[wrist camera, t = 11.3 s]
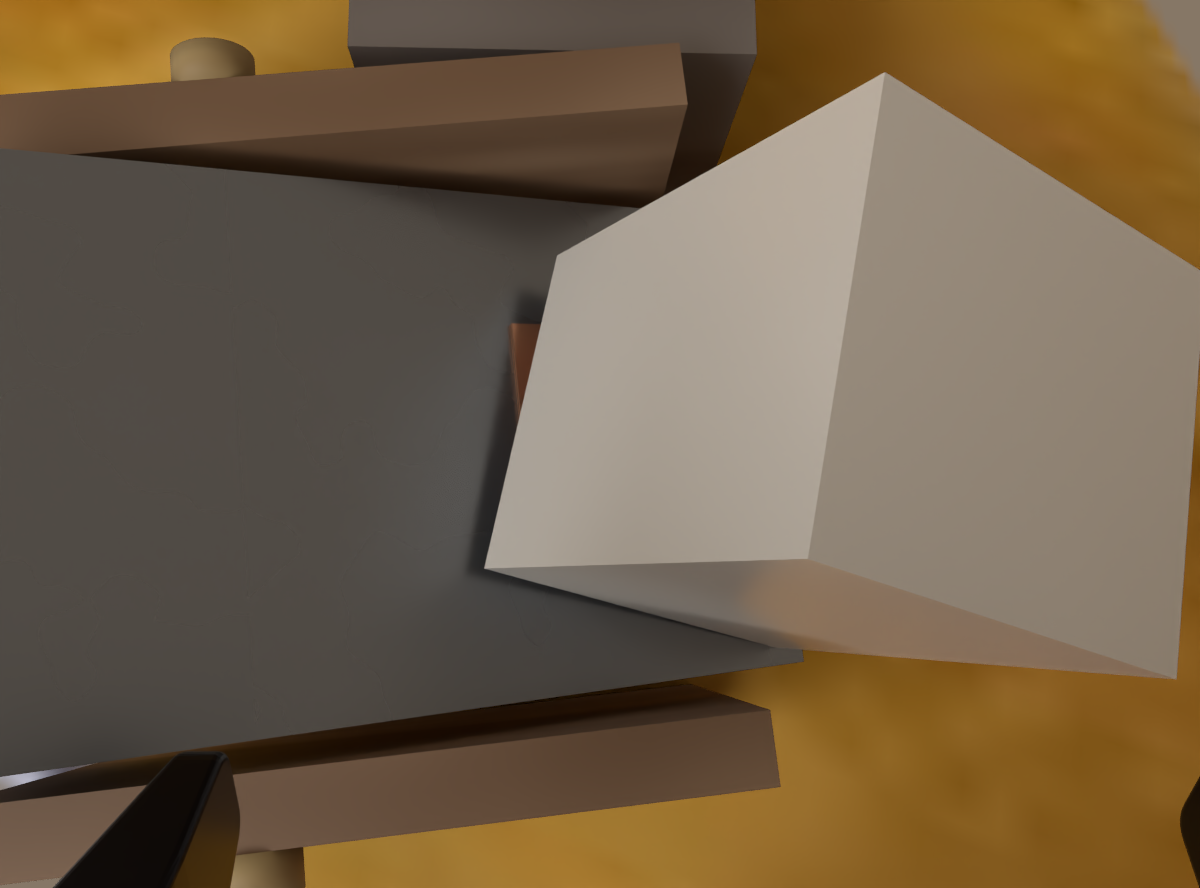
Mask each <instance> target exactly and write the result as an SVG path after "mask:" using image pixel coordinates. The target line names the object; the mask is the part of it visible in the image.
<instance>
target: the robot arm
mask: <svg viewBox="0 0 1200 888" xmlns="http://www.w3.org/2000/svg"><path fill="white" fill-rule="evenodd" d="M1180 827H1181V833H1182V837H1183V840H1184V843H1185V846H1186V849H1187V852H1188V855H1189V858H1190V861H1191V864H1192V867H1193V870H1194V873H1195V876H1196V879H1197V882H1198V885H1199V888H1200V777H1199V779H1198V780H1197V782H1196V784H1195V786H1194V788H1193V789H1192V791H1191V793H1190V795H1189V797H1188V798H1187V800H1186V802H1185V804H1184V806H1183V808H1182V811H1181V816H1180ZM239 834H240V808H239V803H238V798H237V793H236V788H235V783H234V779H233V774H232V769H231V764H230V760H229V758H228V757H227V755H226V754H225V753H223V752H219V751H186V752H181V753H179V754H177V755H176V756H174V757H173V758H172V759H171V760H170V761H169V762H168V763H167V764H166V765H165V766H164V767H163V768H162V769H161V771H160V772H159V773H158V774H157V775H156V776H155V777H154V778H153V779H152V780H151V781H150V783H149V784H148V785H147V786H146V787H145V788H144V789H143V790H142V791H141V792H140V793H139V795H138V796H137V797H136V798H135V799H134V800H133V801H132V802H131V803H130V804H129V805H128V806H127V808H126V809H125V810H124V811H123V812H122V813H121V814H120V815H119V816H118V817H117V818H116V820H115V821H114V822H113V823H112V824H111V825H110V826H109V827H108V828H107V829H106V830H105V832H104V833H103V834H102V835H101V836H100V837H99V838H98V839H97V840H96V841H95V842H94V843H93V845H92V846H91V847H90V848H89V849H88V850H87V851H86V852H85V853H84V854H83V855H82V857H81V858H80V859H79V860H78V861H77V862H76V863H75V864H74V865H73V866H72V867H71V869H70V870H69V871H68V872H67V873H66V874H65V875H64V876H63V877H62V878H61V879H60V880H59V882H58V883H57V884H56V885H55V886H54V887H53V888H230V887H231V881H232V875H233V869H234V864H235V858H236V852H237V846H238V841H239Z"/></svg>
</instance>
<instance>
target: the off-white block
mask: <svg viewBox="0 0 1200 888" xmlns="http://www.w3.org/2000/svg"><path fill="white" fill-rule="evenodd" d="M1199 355H1200V270H1199V269H1197V268H1196V267H1194V266H1192V265H1191V264H1189V263H1188V262H1186V261H1184V260H1183V259H1181V258H1180V257H1178V256H1177V255H1175V254H1173V253H1172V252H1170V251H1169V250H1167V249H1165V248H1164V247H1162V246H1161V245H1159V244H1157V243H1156V242H1154V241H1153V240H1151V239H1150V238H1148V237H1146V236H1145V235H1143V234H1142V233H1140V232H1138V231H1137V230H1135V229H1134V228H1132V227H1130V226H1129V225H1127V224H1126V223H1124V222H1123V221H1121V220H1119V219H1118V218H1116V217H1115V216H1113V215H1111V214H1110V213H1108V212H1107V211H1105V210H1103V209H1102V208H1100V207H1099V206H1097V205H1096V204H1094V203H1092V202H1091V201H1089V200H1088V199H1086V198H1084V197H1083V196H1081V195H1080V194H1078V193H1076V192H1075V191H1073V190H1072V189H1070V188H1069V187H1067V186H1065V185H1064V184H1062V183H1061V182H1059V181H1057V180H1056V179H1054V178H1053V177H1051V176H1049V175H1048V174H1046V173H1045V172H1043V171H1041V170H1040V169H1038V168H1037V167H1035V166H1034V165H1032V164H1030V163H1029V162H1027V161H1026V160H1024V159H1022V158H1021V157H1019V156H1018V155H1016V154H1014V153H1013V152H1011V151H1010V150H1008V149H1007V148H1005V147H1003V146H1002V145H1000V144H999V143H997V142H995V141H994V140H992V139H991V138H989V137H987V136H986V135H984V134H983V133H981V132H980V131H978V130H976V129H975V128H973V127H972V126H970V125H968V124H967V123H965V122H964V121H962V120H960V119H959V118H957V117H956V116H954V115H953V114H951V113H949V112H948V111H946V110H945V109H943V108H941V107H940V106H938V105H937V104H935V103H933V102H932V101H930V100H929V99H927V98H925V97H924V96H922V95H921V94H919V93H918V92H916V91H914V90H913V89H911V88H910V87H908V86H906V85H905V84H903V83H902V82H900V81H898V80H897V79H895V78H894V77H892V76H891V75H889V74H887V73H886V72H884V73H882V74H881V75H879V76H877V77H875V78H874V79H872V80H870V81H868V82H866V83H865V84H863V85H861V86H859V87H857V88H856V89H854V90H852V91H850V92H849V93H847V94H845V95H843V96H841V97H840V98H838V99H836V100H834V101H832V102H831V103H829V104H827V105H825V106H823V107H822V108H820V109H818V110H816V111H815V112H813V113H811V114H809V115H807V116H806V117H804V118H802V119H800V120H798V121H797V122H795V123H793V124H791V125H790V126H788V127H786V128H784V129H782V130H781V131H779V132H777V133H775V134H773V135H772V136H770V137H768V138H766V139H765V140H763V141H761V142H759V143H757V144H756V145H754V146H752V147H750V148H748V149H747V150H745V151H743V152H741V153H739V154H738V155H736V156H734V157H732V158H731V159H729V160H727V161H725V162H723V163H722V164H720V165H718V166H716V167H714V168H713V169H711V170H709V171H707V172H706V173H704V174H702V175H700V176H698V177H697V178H695V179H693V180H691V181H689V182H688V183H686V184H684V185H682V186H681V187H679V188H677V189H675V190H673V191H672V192H670V193H668V194H666V195H664V196H663V197H661V198H659V199H657V200H655V201H654V202H652V203H650V204H648V205H647V206H645V207H643V208H641V209H639V210H638V211H636V212H634V213H632V214H630V215H629V216H627V217H625V218H623V219H622V220H620V221H618V222H616V223H614V224H613V225H611V226H609V227H607V228H605V229H604V230H602V231H600V232H598V233H596V234H595V235H593V236H591V237H589V238H588V239H586V240H584V241H582V242H580V243H579V244H577V245H575V246H573V247H571V248H570V249H568V250H566V251H564V252H563V253H561V254H559V255H557V258H556V262H555V267H554V271H553V275H552V280H551V284H550V288H549V293H548V297H547V301H546V305H545V310H544V314H543V318H542V323H541V327H540V331H539V335H538V340H537V344H536V348H535V353H534V357H533V361H532V366H531V370H530V374H529V378H528V383H527V387H526V391H525V396H524V400H523V404H522V408H521V413H520V417H519V421H518V426H517V430H516V434H515V438H514V443H513V447H512V451H511V456H510V460H509V464H508V469H507V473H506V477H505V481H504V486H503V490H502V494H501V499H500V503H499V507H498V511H497V516H496V520H495V524H494V529H493V533H492V537H491V542H490V546H489V550H488V554H487V559H486V563H485V567H484V569H488V570H491V571H495V572H499V573H503V574H506V575H510V576H514V577H517V578H521V579H525V580H528V581H532V582H536V583H539V584H543V585H547V586H550V587H554V588H558V589H561V590H565V591H569V592H572V593H576V594H580V595H583V596H587V597H591V598H595V599H598V600H602V601H606V602H609V603H613V604H617V605H620V606H624V607H628V608H631V609H635V610H639V611H642V612H646V613H650V614H653V615H657V616H661V617H664V618H668V619H672V620H676V621H679V622H683V623H687V624H690V625H694V626H698V627H701V628H705V629H709V630H712V631H716V632H720V633H723V634H727V635H731V636H734V637H738V638H742V639H745V640H749V641H753V642H756V643H760V644H764V645H768V646H771V647H775V648H787V649H800V650H812V651H825V652H837V653H850V654H863V655H875V656H888V657H901V658H913V659H926V660H938V661H951V662H964V663H976V664H989V665H1002V666H1014V667H1027V668H1039V669H1052V670H1065V671H1077V672H1090V673H1103V674H1115V675H1128V676H1140V677H1153V678H1166V679H1177V665H1178V651H1179V637H1180V623H1181V609H1182V595H1183V581H1184V567H1185V552H1186V538H1187V524H1188V510H1189V496H1190V482H1191V468H1192V454H1193V440H1194V426H1195V412H1196V398H1197V383H1198V369H1199Z"/></svg>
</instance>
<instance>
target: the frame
mask: <svg viewBox="0 0 1200 888" xmlns="http://www.w3.org/2000/svg"><path fill="white" fill-rule="evenodd" d="M170 65H171V82H162V83H149V84H136V85H123V86H110V87H97V88H84V89H71V90H58V91H45V92H32V93H19V94H6V95H0V148H3V149H14V150H25V151H35V152H46V153H57V154H67V155H78V156H88V157H99V158H110V159H120V160H131V161H142V162H152V163H163V164H173V165H184V166H195V167H205V168H216V169H227V170H237V171H248V172H258V173H269V174H280V175H290V176H301V177H312V178H322V179H333V180H343V181H354V182H365V183H375V184H386V185H397V186H407V187H418V188H429V189H439V190H450V191H460V192H471V193H482V194H492V195H503V196H514V197H524V198H535V199H545V200H556V201H567V202H577V203H588V204H599V205H609V206H620V207H630V208H643V207H645V206H647V205H648V204H650V203H652V202H654V201H655V200H657V199H659V198H661V197H663V195H664V192H665V188H666V184H667V180H668V177H669V173H670V169H671V165H672V162H673V158H674V154H675V150H676V147H677V143H678V139H679V135H680V132H681V128H682V124H683V120H684V117H685V113H686V109H687V105H688V103H687V95H686V88H685V81H684V73H683V66H682V58H681V51H680V44H679V43H669V44H656V45H643V46H630V47H617V48H604V49H591V50H578V51H565V52H552V53H539V54H526V55H513V56H500V57H487V58H474V59H461V60H448V61H435V62H422V63H409V64H396V65H383V66H370V67H357V68H344V69H331V70H318V71H305V72H292V73H279V74H266V75H255V62H254V58H253V56H252V54H251V53H250V52H249V51H248V50H247V49H246V48H244V47H243V46H241V45H239V44H237V43H234V42H231V41H228V40H224V39H218V38H194V39H189V40H186V41H183V42H181V43H179V44H177V45H176V46H175V47H174V48H173V49H172V51H171V53H170ZM186 751H219V752H223V753H225V754H226V755H227V757H228V758H229V760H230V764H231V769H232V774H233V779H234V783H235V788H236V793H237V798H238V803H239V808H240V834H239V841H238V846H237V852H236V858H235V864H234V869H233V875H232V881H231V887H230V888H305V871H304V855H303V847H307V846H315V845H323V844H331V843H339V842H347V841H355V840H363V839H371V838H379V837H387V836H395V835H402V834H410V833H418V832H426V831H434V830H442V829H450V828H458V827H466V826H474V825H482V824H490V823H498V822H506V821H514V820H522V819H530V818H538V817H546V816H554V815H562V814H570V813H578V812H585V811H593V810H601V809H609V808H617V807H625V806H633V805H641V804H649V803H657V802H665V801H673V800H681V799H689V798H697V797H705V796H713V795H721V794H729V793H737V792H745V791H753V790H761V789H768V788H776V787H780V779H779V772H778V765H777V757H776V750H775V742H774V735H773V728H772V720H771V713H770V710H768V709H765V708H762V707H759V706H756V705H753V704H750V703H747V702H744V701H741V700H738V699H735V698H732V697H729V696H725V695H722V694H719V693H716V692H713V691H710V690H707V689H704V688H701V687H698V686H695V685H692V684H689V685H680V686H672V687H663V688H655V689H646V690H638V691H629V692H621V693H613V694H604V695H596V696H587V697H579V698H570V699H562V700H553V701H545V702H537V703H528V704H520V705H511V706H503V707H494V708H486V709H477V710H469V711H460V712H452V713H444V714H435V715H427V716H420V717H413V718H407V719H400V720H393V721H386V722H379V723H372V724H365V725H358V726H351V727H344V728H337V729H330V730H323V731H316V732H309V733H302V734H295V735H288V736H281V737H274V738H267V739H260V740H253V741H246V742H239V743H232V744H225V745H218V746H211V747H204V748H197V749H191V750H184V751H177V752H170V753H163V754H156V755H149V756H142V757H135V758H128V759H121V760H114V761H107V762H100V763H96V764H92V765H89V766H85V767H82V768H78V769H75V770H71V771H67V772H64V773H60V774H57V775H53V776H50V777H46V778H43V779H39V780H35V781H32V782H28V783H25V784H21V785H18V786H14V787H11V788H7V789H3V790H0V885H5V884H12V883H21V882H28V881H37V880H44V879H52V878H60V877H63V876H64V875H65V874H66V873H67V872H68V871H69V870H70V869H71V867H72V866H73V865H74V864H75V863H76V862H77V861H78V860H79V859H80V858H81V857H82V855H83V854H84V853H85V852H86V851H87V850H88V849H89V848H90V847H91V846H92V845H93V843H94V842H95V841H96V840H97V839H98V838H99V837H100V836H101V835H102V834H103V833H104V832H105V830H106V829H107V828H108V827H109V826H110V825H111V824H112V823H113V822H114V821H115V820H116V818H117V817H118V816H119V815H120V814H121V813H122V812H123V811H124V810H125V809H126V808H127V806H128V805H129V804H130V803H131V802H132V801H133V800H134V799H135V798H136V797H137V796H138V795H139V793H140V792H141V791H142V790H143V789H144V788H145V787H146V786H147V785H148V784H149V783H150V781H151V780H152V779H153V778H154V777H155V776H156V775H157V774H158V773H159V772H160V771H161V769H162V768H163V767H164V766H165V765H166V764H167V763H168V762H169V761H170V760H171V759H172V758H173V757H174V756H176V755H177V754H179V753H181V752H186Z"/></svg>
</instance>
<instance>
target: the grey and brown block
mask: <svg viewBox="0 0 1200 888" xmlns="http://www.w3.org/2000/svg"><path fill="white" fill-rule="evenodd" d="M639 209H641V208H630V207H620V206H609V205H599V204H588V203H577V202H567V201H556V200H545V199H535V198H524V197H514V196H503V195H492V194H482V193H471V192H460V191H450V190H439V189H429V188H418V187H407V186H397V185H386V184H375V183H365V182H354V181H343V180H333V179H322V178H312V177H301V176H290V175H280V174H269V173H258V172H248V171H237V170H227V169H216V168H205V167H195V166H184V165H173V164H163V163H152V162H142V161H131V160H120V159H110V158H99V157H88V156H78V155H67V154H57V153H46V152H35V151H25V150H14V149H3V148H0V777H2V776H9V775H16V774H23V773H30V772H37V771H44V770H51V769H58V768H65V767H72V766H79V765H86V764H93V763H100V762H107V761H114V760H121V759H128V758H135V757H142V756H149V755H156V754H163V753H170V752H177V751H184V750H191V749H197V748H204V747H211V746H218V745H225V744H232V743H239V742H246V741H253V740H260V739H267V738H274V737H281V736H288V735H295V734H302V733H309V732H316V731H323V730H330V729H337V728H344V727H351V726H358V725H365V724H372V723H379V722H386V721H393V720H400V719H407V718H413V717H420V716H427V715H434V714H441V713H448V712H455V711H462V710H469V709H476V708H483V707H490V706H497V705H504V704H511V703H518V702H525V701H532V700H539V699H546V698H553V697H560V696H567V695H574V694H581V693H588V692H595V691H602V690H609V689H616V688H623V687H629V686H636V685H643V684H650V683H657V682H664V681H671V680H678V679H685V678H692V677H699V676H706V675H713V674H720V673H727V672H734V671H741V670H748V669H755V668H762V667H769V666H776V665H783V664H790V663H797V662H804V660H803V653H802V650H800V649H787V648H775V647H771V646H768V645H764V644H760V643H756V642H753V641H749V640H745V639H742V638H738V637H734V636H731V635H727V634H723V633H720V632H716V631H712V630H709V629H705V628H701V627H698V626H694V625H690V624H687V623H683V622H679V621H676V620H672V619H668V618H664V617H661V616H657V615H653V614H650V613H646V612H642V611H639V610H635V609H631V608H628V607H624V606H620V605H617V604H613V603H609V602H606V601H602V600H598V599H595V598H591V597H587V596H583V595H580V594H576V593H572V592H569V591H565V590H561V589H558V588H554V587H550V586H547V585H543V584H539V583H536V582H532V581H528V580H525V579H521V578H517V577H514V576H510V575H506V574H503V573H499V572H495V571H491V570H488V569H484V567H485V563H486V559H487V554H488V550H489V546H490V542H491V537H492V533H493V529H494V524H495V520H496V516H497V511H498V507H499V503H500V499H501V494H502V490H503V486H504V481H505V477H506V473H507V469H508V464H509V460H510V456H511V451H512V447H513V443H514V438H515V434H516V430H517V426H518V421H519V417H520V413H521V408H522V404H523V400H524V396H525V391H526V387H527V383H528V378H529V374H530V370H531V366H532V361H533V357H534V353H535V348H536V344H537V340H538V335H539V331H540V327H541V323H542V318H543V314H544V310H545V305H546V301H547V297H548V293H549V288H550V284H551V280H552V275H553V271H554V267H555V262H556V258H557V255H559V254H561V253H563V252H564V251H566V250H568V249H570V248H571V247H573V246H575V245H577V244H579V243H580V242H582V241H584V240H586V239H588V238H589V237H591V236H593V235H595V234H596V233H598V232H600V231H602V230H604V229H605V228H607V227H609V226H611V225H613V224H614V223H616V222H618V221H620V220H622V219H623V218H625V217H627V216H629V215H630V214H632V213H634V212H636V211H638V210H639Z"/></svg>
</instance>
